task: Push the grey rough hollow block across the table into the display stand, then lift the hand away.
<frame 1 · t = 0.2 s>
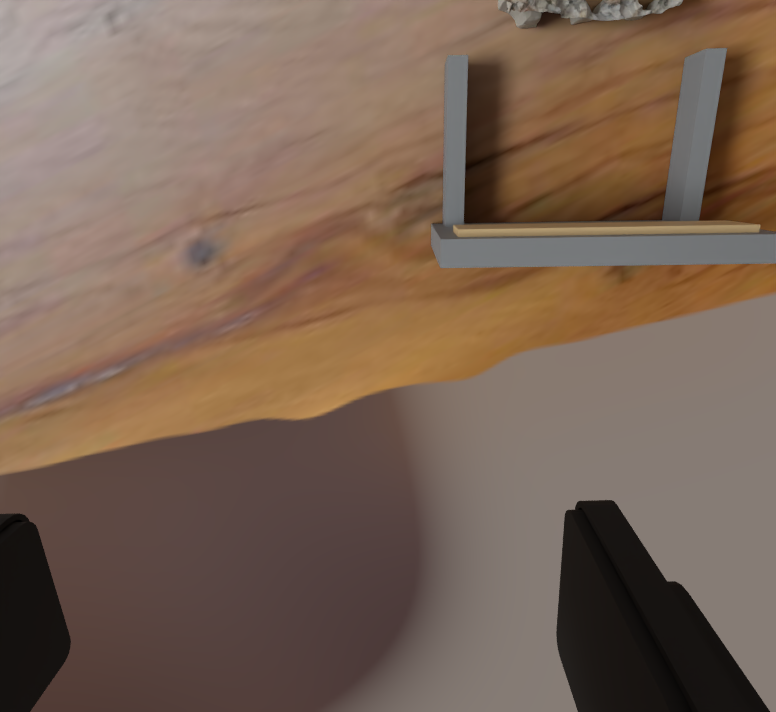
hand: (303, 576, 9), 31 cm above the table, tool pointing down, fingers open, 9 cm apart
display stand: (567, 128, 35), on the table
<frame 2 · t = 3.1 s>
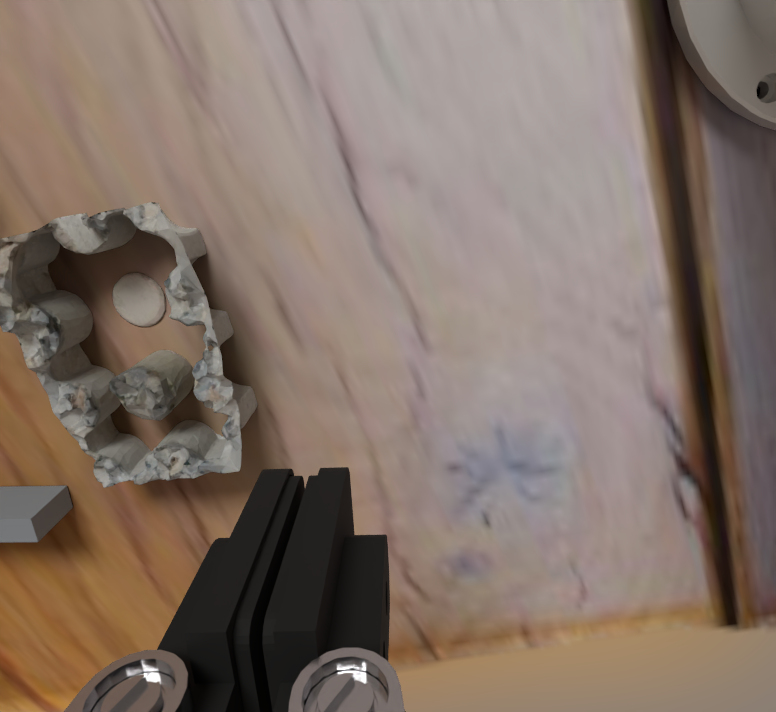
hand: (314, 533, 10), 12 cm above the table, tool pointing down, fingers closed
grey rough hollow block: (163, 334, 23), on the table
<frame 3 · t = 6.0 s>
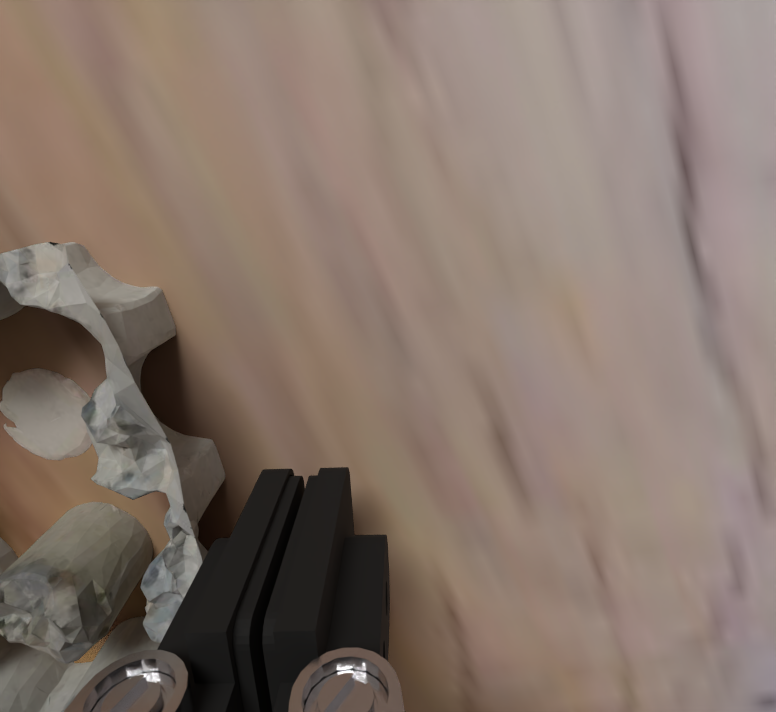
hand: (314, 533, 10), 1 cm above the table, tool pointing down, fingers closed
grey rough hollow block: (97, 469, 12), on the table, touching gripper
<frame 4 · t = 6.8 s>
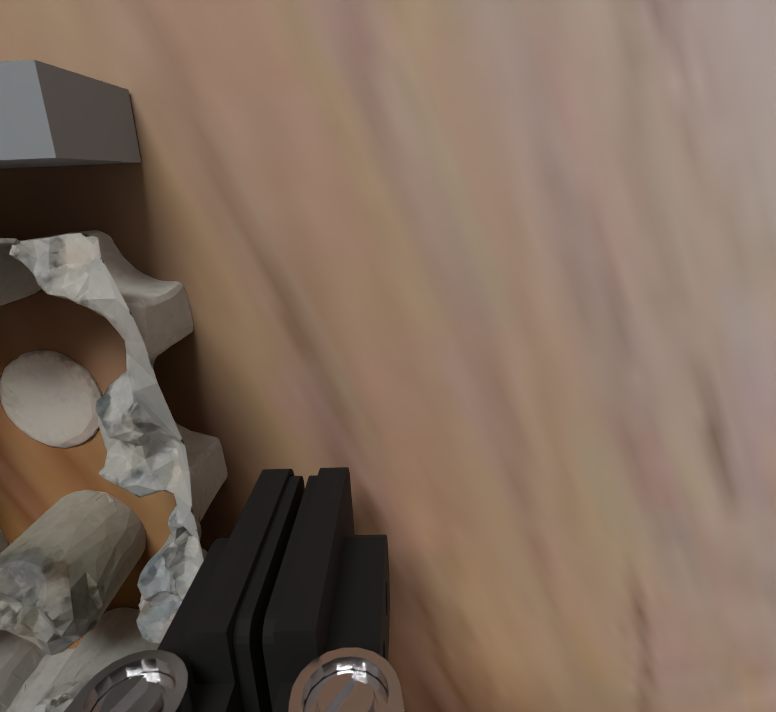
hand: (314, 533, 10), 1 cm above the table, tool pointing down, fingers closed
display stand: (26, 497, 12), on the table
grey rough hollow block: (95, 458, 12), on the table, touching gripper
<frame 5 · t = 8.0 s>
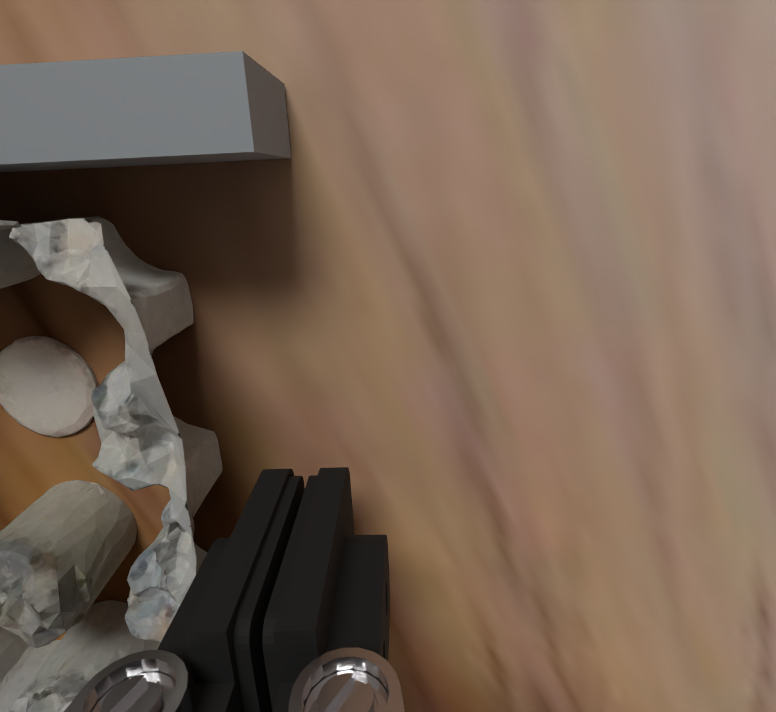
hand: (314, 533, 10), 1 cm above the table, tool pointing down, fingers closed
display stand: (146, 499, 12), on the table
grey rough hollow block: (87, 448, 12), on the table
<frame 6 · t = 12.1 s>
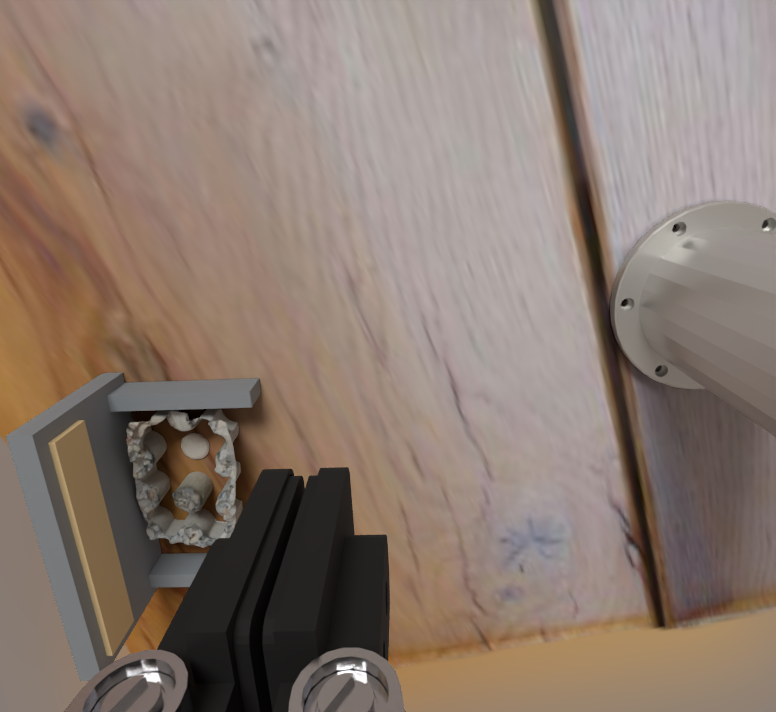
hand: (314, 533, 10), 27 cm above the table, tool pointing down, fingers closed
display stand: (221, 478, 41), on the table
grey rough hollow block: (201, 462, 42), on the table
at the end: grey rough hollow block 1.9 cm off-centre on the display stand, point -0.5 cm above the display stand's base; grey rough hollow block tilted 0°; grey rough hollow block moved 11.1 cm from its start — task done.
